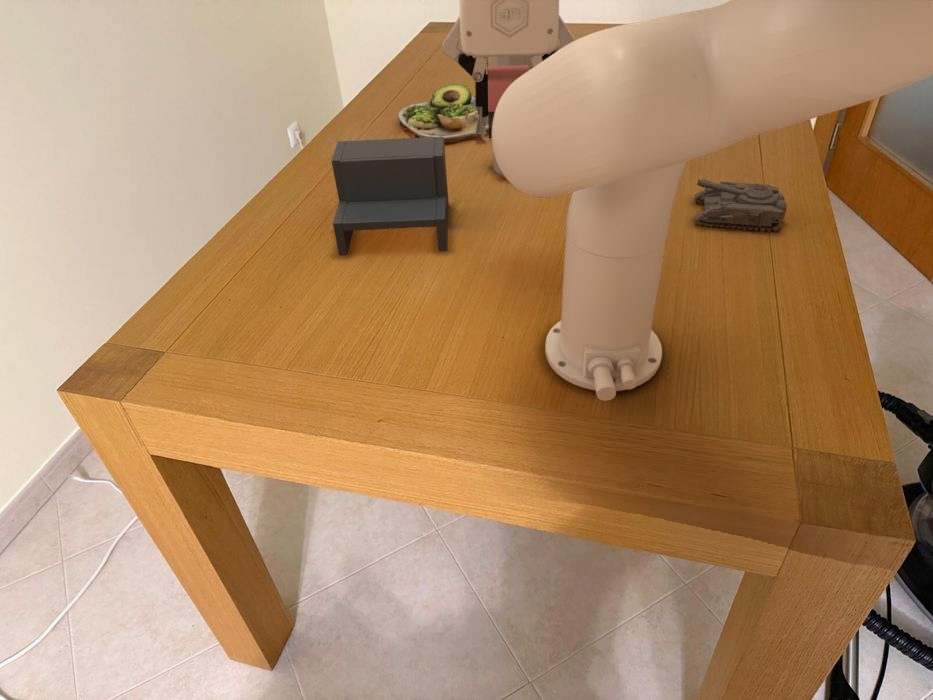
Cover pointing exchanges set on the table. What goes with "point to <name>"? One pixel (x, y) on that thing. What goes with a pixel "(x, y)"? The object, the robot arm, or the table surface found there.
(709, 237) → the table surface
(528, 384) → the table surface
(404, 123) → the salad plate
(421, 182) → the bench
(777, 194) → the tank toy
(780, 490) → the table surface
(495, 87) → the pink cube on slab
